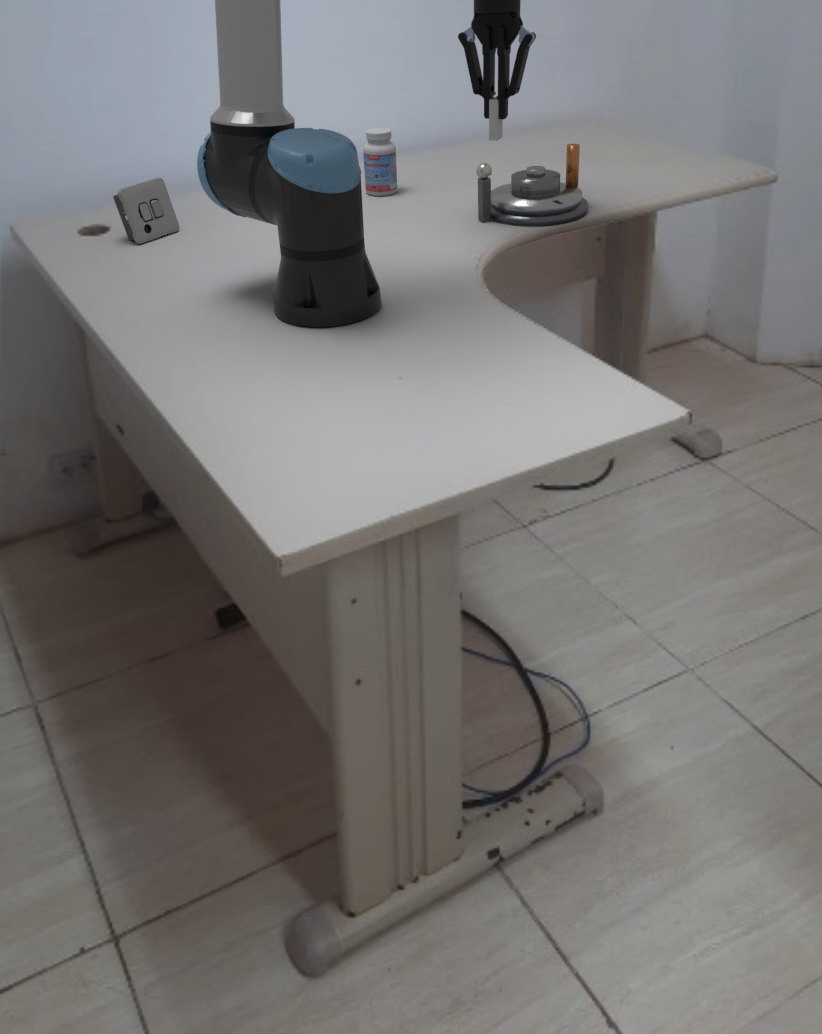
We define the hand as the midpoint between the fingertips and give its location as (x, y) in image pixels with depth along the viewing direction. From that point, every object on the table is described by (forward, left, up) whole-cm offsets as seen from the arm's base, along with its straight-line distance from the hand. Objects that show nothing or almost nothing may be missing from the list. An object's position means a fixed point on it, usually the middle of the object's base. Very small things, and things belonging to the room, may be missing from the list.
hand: (495, 138), depth 181 cm
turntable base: (-5, -5, -12) cm, 14 cm away
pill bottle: (+22, +12, -12) cm, 28 cm away
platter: (-5, -5, -10) cm, 13 cm away
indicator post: (-5, +5, -12) cm, 14 cm away
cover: (-5, -5, -9) cm, 11 cm away
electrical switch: (+21, +57, -12) cm, 62 cm away
